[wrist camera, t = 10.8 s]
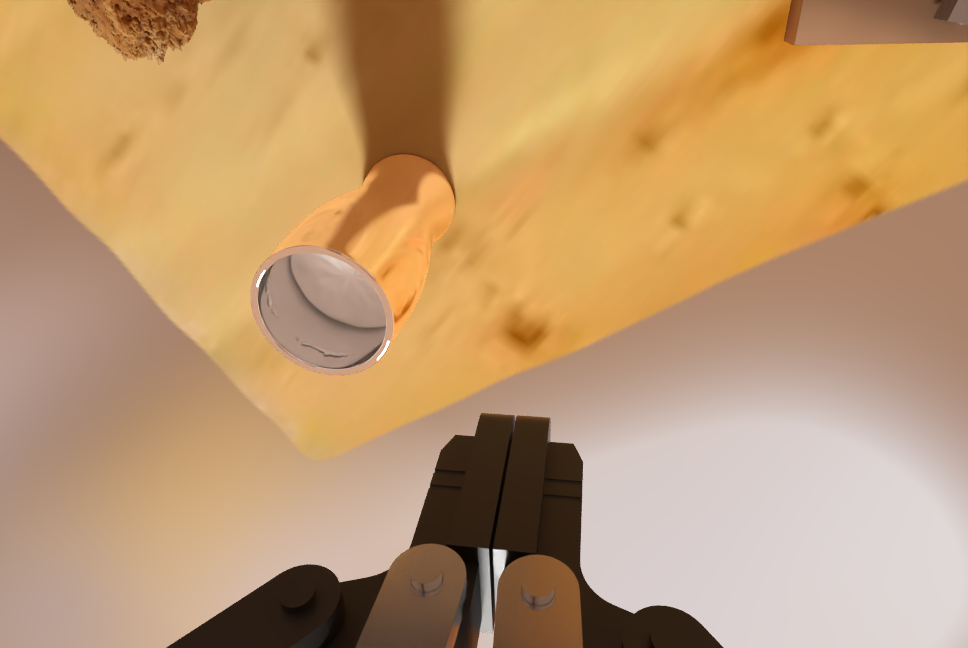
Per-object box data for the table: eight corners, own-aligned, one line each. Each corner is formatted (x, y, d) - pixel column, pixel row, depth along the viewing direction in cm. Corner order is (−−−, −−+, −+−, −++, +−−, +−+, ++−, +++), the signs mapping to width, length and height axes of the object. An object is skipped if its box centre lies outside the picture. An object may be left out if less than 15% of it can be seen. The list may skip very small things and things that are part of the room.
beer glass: (390, 123, 38) (283, 208, 25) (483, 191, 39) (427, 305, 26) (338, 209, 41) (222, 323, 28) (426, 269, 42) (352, 404, 30)
